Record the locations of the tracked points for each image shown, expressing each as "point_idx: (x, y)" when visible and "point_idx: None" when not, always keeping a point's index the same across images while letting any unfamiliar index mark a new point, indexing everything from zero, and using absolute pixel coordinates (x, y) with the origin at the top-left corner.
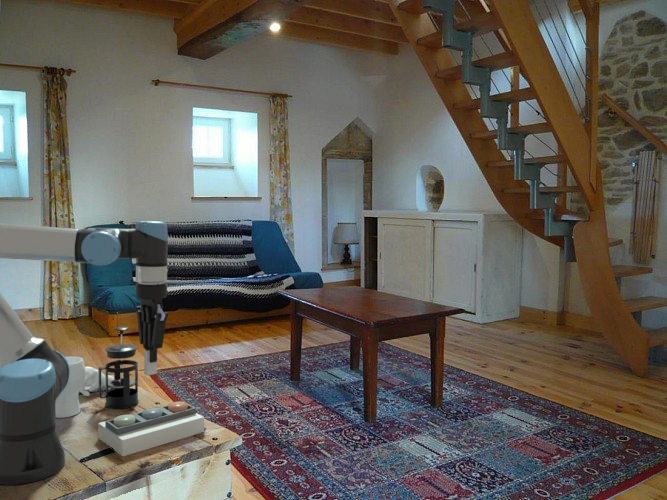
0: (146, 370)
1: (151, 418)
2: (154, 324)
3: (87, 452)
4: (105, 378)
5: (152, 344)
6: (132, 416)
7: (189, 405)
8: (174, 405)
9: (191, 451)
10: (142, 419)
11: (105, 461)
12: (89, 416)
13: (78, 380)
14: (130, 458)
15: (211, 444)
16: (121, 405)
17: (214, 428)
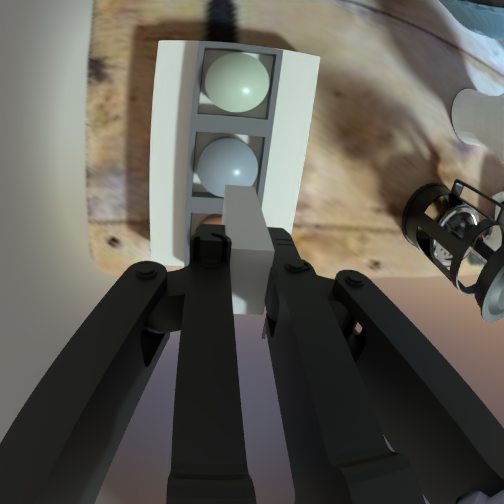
0: (231, 192)
1: (203, 150)
2: (45, 462)
3: (252, 6)
4: (500, 243)
5: (139, 284)
6: (233, 106)
7: None
8: None
9: (87, 173)
10: (211, 125)
11: (174, 12)
12: (428, 129)
13: (501, 137)
14: (145, 56)
15: (92, 221)
16: (415, 200)
17: None
